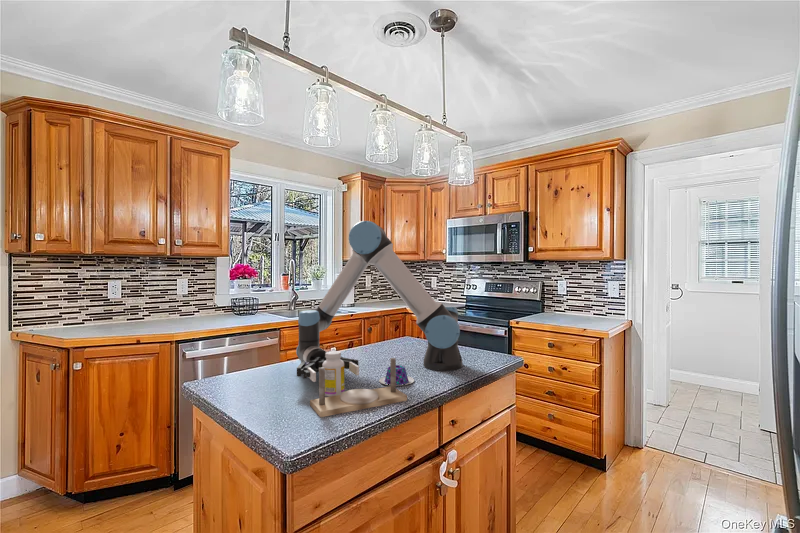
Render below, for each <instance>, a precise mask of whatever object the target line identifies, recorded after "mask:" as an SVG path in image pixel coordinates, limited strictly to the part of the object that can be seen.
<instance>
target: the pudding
mask: <svg viewBox="0 0 800 533" xmlns="http://www.w3.org/2000/svg"><path fill="white" fill-rule="evenodd" d="M384 380H385V382H384ZM378 382H379V383H380V384H383V385H385V386H389V385H391V370H390V366H388V367H387V369H386V374H385V376H382V377H381V378H379V381H378ZM414 382H415V379H414V378H413V377H411V376H410V375H408V374H407V370H406V366H404V365H401V364H399V365H398V364H396V387H398V386H399V387H400V386H403V385H402V384H405V385H404V386H407V385H410V384H412V383H414ZM385 383H387V384H385ZM388 384H389V385H388ZM398 384H399V385H398Z"/></svg>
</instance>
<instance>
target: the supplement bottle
mask: <svg viewBox="0 0 800 533" xmlns="http://www.w3.org/2000/svg"><path fill="white" fill-rule="evenodd" d="M325 357H326V361H324V362H323V364H322V367H324V368H325V397H331V396H337V395H341V394H342V393H343V392H345V391H346V390H345V386H346V385H345V369H344V362H343V360H341V359H340V357H342V352H341V351H338V350H329V351H326V353H325Z"/></svg>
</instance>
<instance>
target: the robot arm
mask: <svg viewBox="0 0 800 533" xmlns="http://www.w3.org/2000/svg"><path fill="white" fill-rule="evenodd" d="M348 243H349V245H350V247H351V248H352V254H351V256H350V258H349V259H348V260H347V262H346V264H345V265H344V267H343V268H342V269H341V271H340V273H339V274H338V275H337V277H336V279H335V280H334V281H333V283H332V284H331V287H330V288H329V289H328V291H327V292H326V294H325V295H324V296H323V298H322V300H321V302H320V303H319V304H318V306H317V307H316V309H314V310H313V309H311V310H310V309H308V310H307V309H306V310H302V311H301V310H300V311H299V312H298V320H297V322H298V345H297V347H296V350H295V353H296V356H297V357H298V360H299V361H300V363H299V365H298V366H297V367H296V377H301V376H302V378H303V379H304V380H305V379H307V378H309V379H310V381H312V382H313V383H315V382H317V373H319V368H321V367H322V364H323V362H324V361H326V357H325V353H326V352H327V351H326V350H324V349H323V348H322V347H320V332H323V331H324V330H327V329H329V327H330V326H331V324H332V322H333V319H334V317H335V316H336V315H337V312H338V311H339V310H340V308H341V307H342V305H343V304H344V302H345V301H346V299H347V298H348V296H349V295H350V293H351V292H352V290H353V289H354V287H355V286H356V284H357V283H358V281H359V279H360V278H361V277H362V275H363V274H364V272H365V270H367V268H368V266H369V265H370V266H374V267H375V268H376V269H377V271H378V272H379V273H380V274H381V275H382V277H384V279H385V280H386V282H388V284H389V285H390V287H392V289H393V290H394V292H396V294H397V295H398V296H399V297H400V299H401V300H402V301H403V302H404V303H405V305H406V306H407V308H408V309H409V310H410V311H411V313H413V314H414V316H415V317H416V323H415V324H416V325H417V326H418V328H420V330H421V331H422V332H423V334H424V335H425V338H426V341H427V348H426V351H425V354H424V357H423V364H422V365H423V367H424V368H426V369H429V370H432V371H445V372H446V371H447V372H449V371H455V370H456V371H457V370H460V369H462V368H463V359H462V356H461V355H462V354H461V352H460V348H459V337H460V333H461V329H460V328H461V327H460V325H459V321H458V320H459V318H458V317H459V312H458V308H457V307H456V306H455V307H454V306H445V305H444V304H443V302H438V301H435V300H434V299H433V297H432V296H431V295H430V293H429V292H428V291H427V290H426V288H424V286H423V285H422V284H421V283H420V281H419V280H418V279H417V278H416V276H415V275H414V274H413V272H411V271H410V269H409V268H408V267H407V266H406V264H404V262H403V261H402V260H401V258H400V256H398V254H396V252H395V251H394V250H393V248H394V243H393V242H392V241H391V240H390V239H389V237H388V236H387V234H386V232H385V230H384V229H383V228H382V227H381V226H380V225H378V224H377V223H375V222H373V221H370V220H361V221H359V222H357V223H355V224H354V225H353V226H352V227H351V229H350V230H349V234H348ZM340 359H341V360H343V362H344V370H348V371H349V372H351V373H352V374H353V375H356V376H360V366H359V360H358V359H355V358H348V357H342V356H341V357H340Z"/></svg>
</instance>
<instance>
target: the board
mask: <svg viewBox="0 0 800 533" xmlns="http://www.w3.org/2000/svg"><path fill="white" fill-rule="evenodd" d="M389 359H390V360H389V361H390V366H389V367H390V370H391V384H390V385H388V386H384V387H378V388H372V389H369V388H368V389H367V388H354V389H349V390H345V392H343V393H342V394H341V395H337V396H331V397H327V396H325V368H324V367H321V368H319V372H318V398H315V399H310V400H309V406H310V407H311V408H312V410H314V412H315V413H316V414H317V415H318V416H319V417H320V418H324V417H325V418H326V417H329V416H334V415H339V414H344V413H345V414H346V413H350V412H354V411H361V410H365V409H369V408H375V407H380V406H386V405H391V404H396V403H397V404H398V403H400V402H406V401H408V395H407V394H406V393H404V392H402V391H401V390H399V389H397V386H396V365H397V364H396V363H397V361H396V357H391V358H389Z"/></svg>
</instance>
